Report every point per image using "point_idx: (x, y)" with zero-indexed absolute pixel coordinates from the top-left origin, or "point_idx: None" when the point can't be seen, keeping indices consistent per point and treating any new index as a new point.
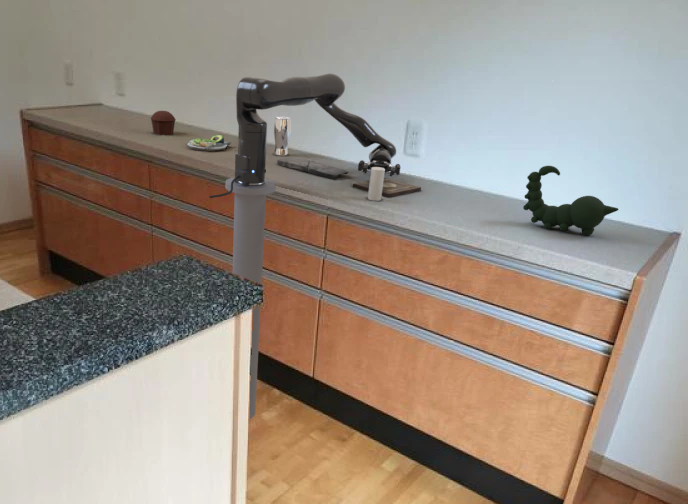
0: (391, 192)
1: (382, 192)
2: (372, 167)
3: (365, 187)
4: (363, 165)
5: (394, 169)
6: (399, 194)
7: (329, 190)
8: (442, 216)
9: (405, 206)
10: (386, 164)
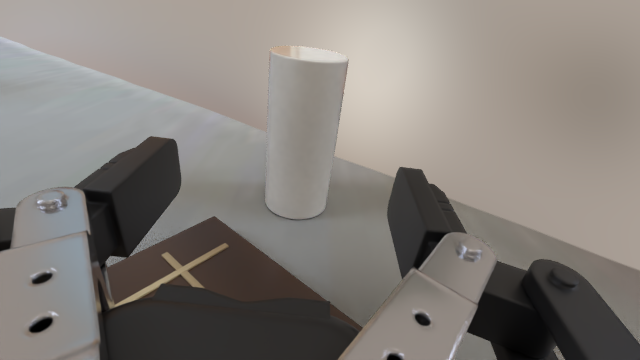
0: (184, 240)
1: (244, 240)
2: (343, 59)
3: (360, 329)
4: (491, 274)
5: (77, 187)
6: None
7: None
8: (99, 112)
9: (181, 155)
10: (97, 283)
